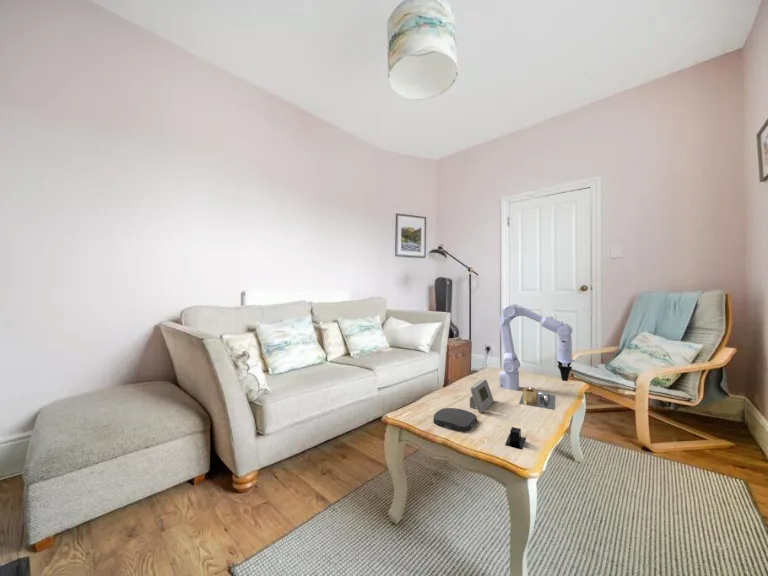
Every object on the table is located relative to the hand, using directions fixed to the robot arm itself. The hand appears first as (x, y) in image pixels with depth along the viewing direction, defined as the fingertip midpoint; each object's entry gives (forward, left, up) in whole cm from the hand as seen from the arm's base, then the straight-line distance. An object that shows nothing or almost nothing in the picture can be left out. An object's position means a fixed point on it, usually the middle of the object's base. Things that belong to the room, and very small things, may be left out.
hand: (564, 378), depth 144 cm
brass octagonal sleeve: (-14, -13, -9) cm, 21 cm away
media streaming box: (-38, -49, -11) cm, 63 cm away
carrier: (-11, -9, -10) cm, 17 cm away
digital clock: (-32, -28, -10) cm, 44 cm away
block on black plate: (-15, -54, -11) cm, 57 cm away
